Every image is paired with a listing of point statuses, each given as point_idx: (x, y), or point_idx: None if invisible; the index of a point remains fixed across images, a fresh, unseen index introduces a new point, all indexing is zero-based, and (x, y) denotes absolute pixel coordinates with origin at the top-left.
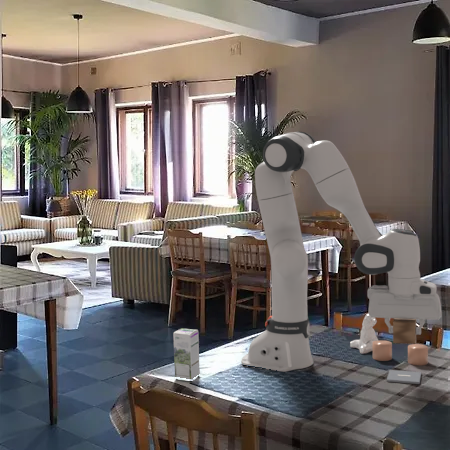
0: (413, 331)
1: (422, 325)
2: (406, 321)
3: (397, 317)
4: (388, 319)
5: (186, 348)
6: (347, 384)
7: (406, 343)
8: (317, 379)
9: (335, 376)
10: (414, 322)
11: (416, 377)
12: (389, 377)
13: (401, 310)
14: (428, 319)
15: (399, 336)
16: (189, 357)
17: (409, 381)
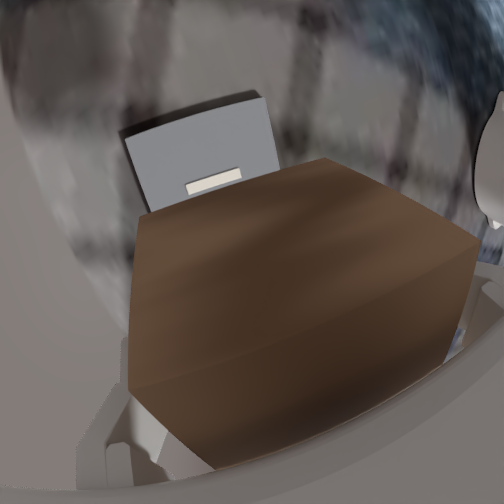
0: (150, 279)
1: (97, 418)
2: (312, 391)
3: (467, 359)
4: (501, 298)
5: None
6: (373, 21)
7: (214, 190)
8: (447, 51)
9: (422, 89)
10: (163, 414)
11: (159, 188)
12: (262, 127)
13: (489, 492)
14: (21, 487)
15: (302, 189)
16: None
17: (166, 124)
